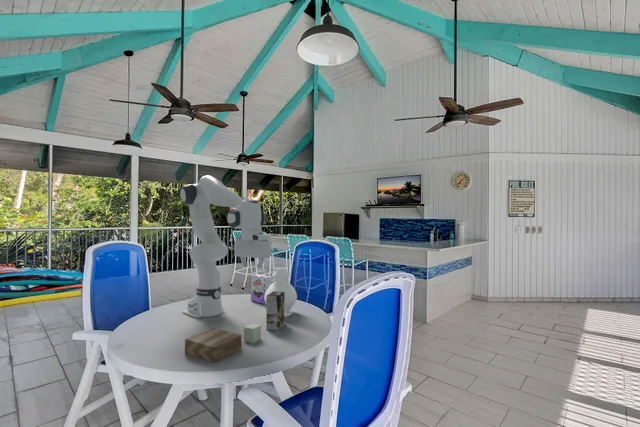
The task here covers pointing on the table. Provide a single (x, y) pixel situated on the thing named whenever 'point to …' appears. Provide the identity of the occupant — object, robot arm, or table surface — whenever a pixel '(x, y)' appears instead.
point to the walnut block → (213, 344)
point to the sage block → (252, 333)
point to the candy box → (259, 287)
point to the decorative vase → (282, 289)
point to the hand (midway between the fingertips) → (252, 267)
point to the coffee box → (275, 311)
